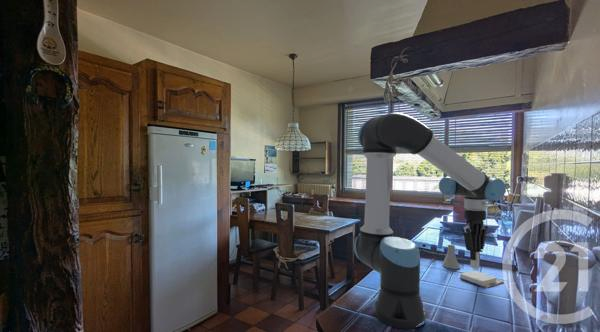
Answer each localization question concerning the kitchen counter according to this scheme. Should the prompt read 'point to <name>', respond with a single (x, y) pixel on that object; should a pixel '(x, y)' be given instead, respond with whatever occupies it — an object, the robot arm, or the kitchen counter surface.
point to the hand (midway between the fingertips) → (474, 267)
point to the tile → (478, 277)
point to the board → (489, 284)
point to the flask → (451, 259)
